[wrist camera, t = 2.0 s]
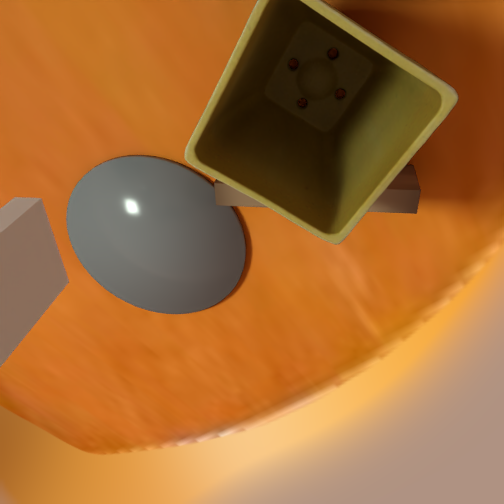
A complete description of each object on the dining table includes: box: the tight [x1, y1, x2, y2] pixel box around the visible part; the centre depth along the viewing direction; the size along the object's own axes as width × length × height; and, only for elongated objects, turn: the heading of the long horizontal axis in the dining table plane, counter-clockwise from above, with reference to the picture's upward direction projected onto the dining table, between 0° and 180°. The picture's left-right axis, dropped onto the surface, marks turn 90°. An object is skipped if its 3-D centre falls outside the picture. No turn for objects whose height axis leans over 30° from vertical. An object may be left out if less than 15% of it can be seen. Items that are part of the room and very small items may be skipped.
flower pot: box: [185, 0, 458, 244], centre depth 24 cm, size 9×9×9 cm
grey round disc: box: [66, 155, 246, 314], centre depth 36 cm, size 14×14×1 cm
